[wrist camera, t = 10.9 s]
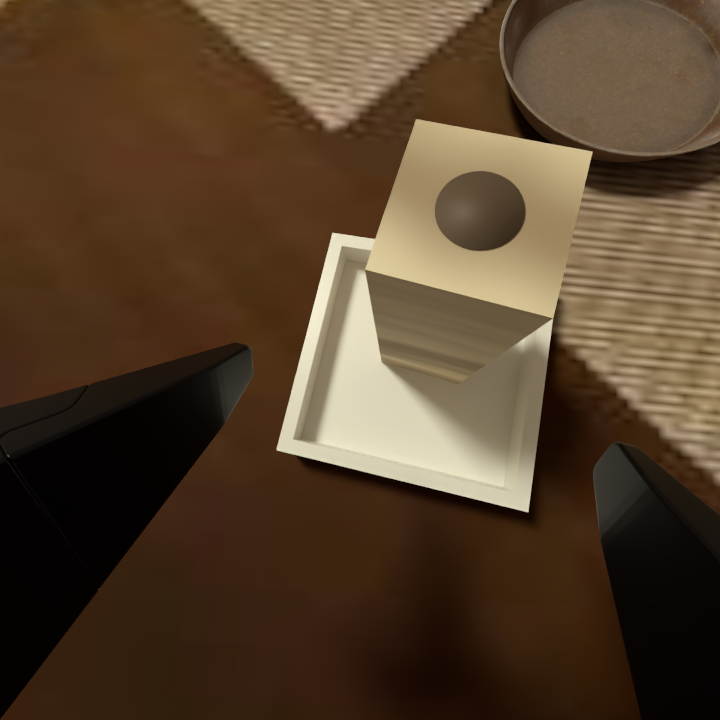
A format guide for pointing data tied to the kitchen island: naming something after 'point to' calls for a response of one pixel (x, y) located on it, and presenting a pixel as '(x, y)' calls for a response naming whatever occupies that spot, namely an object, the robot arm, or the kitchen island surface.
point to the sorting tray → (411, 400)
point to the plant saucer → (616, 74)
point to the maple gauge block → (471, 247)
